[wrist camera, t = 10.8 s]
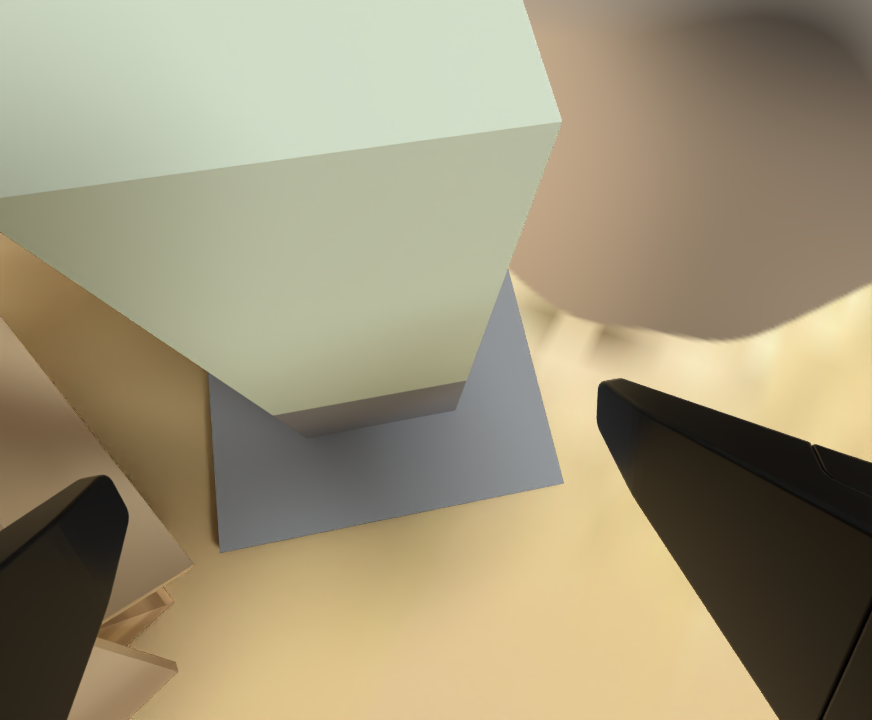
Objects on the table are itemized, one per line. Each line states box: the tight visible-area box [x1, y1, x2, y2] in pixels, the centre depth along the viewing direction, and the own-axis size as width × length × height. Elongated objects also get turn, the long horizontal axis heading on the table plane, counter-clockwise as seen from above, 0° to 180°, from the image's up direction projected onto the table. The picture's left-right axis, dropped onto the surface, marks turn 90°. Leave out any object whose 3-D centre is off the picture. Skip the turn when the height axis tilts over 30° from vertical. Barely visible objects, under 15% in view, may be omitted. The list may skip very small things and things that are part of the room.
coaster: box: [208, 270, 564, 553], centre depth 18 cm, size 11×11×1 cm
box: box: [0, 0, 562, 438], centre depth 11 cm, size 5×5×13 cm
